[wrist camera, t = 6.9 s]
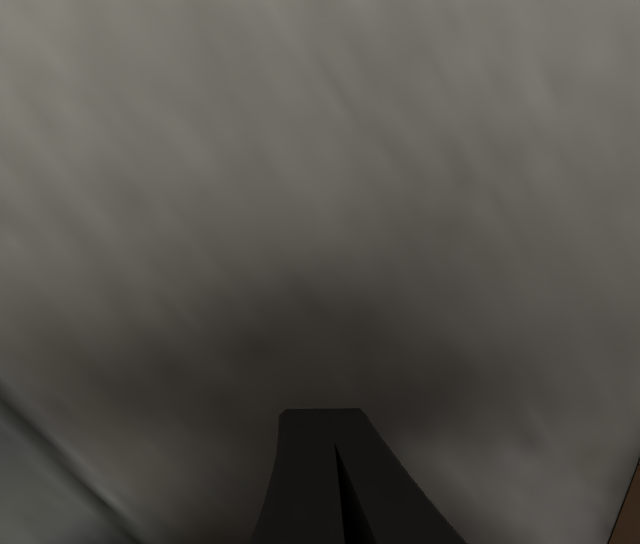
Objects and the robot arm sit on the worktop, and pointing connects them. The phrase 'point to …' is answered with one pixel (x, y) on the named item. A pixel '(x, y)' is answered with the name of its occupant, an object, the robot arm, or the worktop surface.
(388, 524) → the robot arm
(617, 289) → the worktop surface
